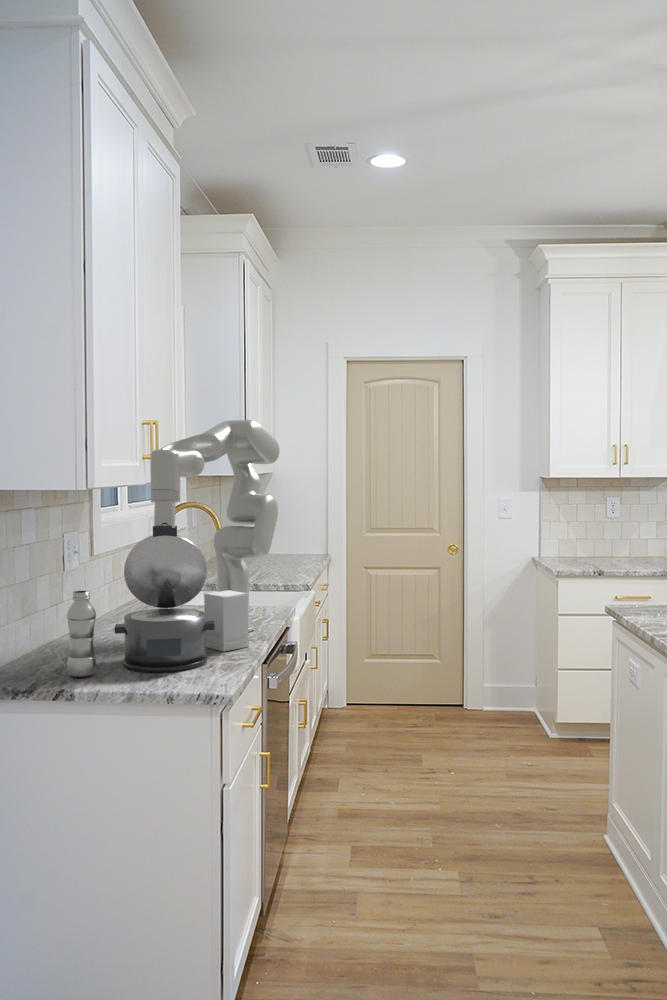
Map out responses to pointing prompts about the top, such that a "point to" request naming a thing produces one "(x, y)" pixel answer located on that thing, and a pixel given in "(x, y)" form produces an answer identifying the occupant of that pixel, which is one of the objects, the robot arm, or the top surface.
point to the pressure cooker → (164, 640)
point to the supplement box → (227, 620)
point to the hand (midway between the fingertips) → (165, 566)
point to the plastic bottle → (81, 636)
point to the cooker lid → (165, 569)
